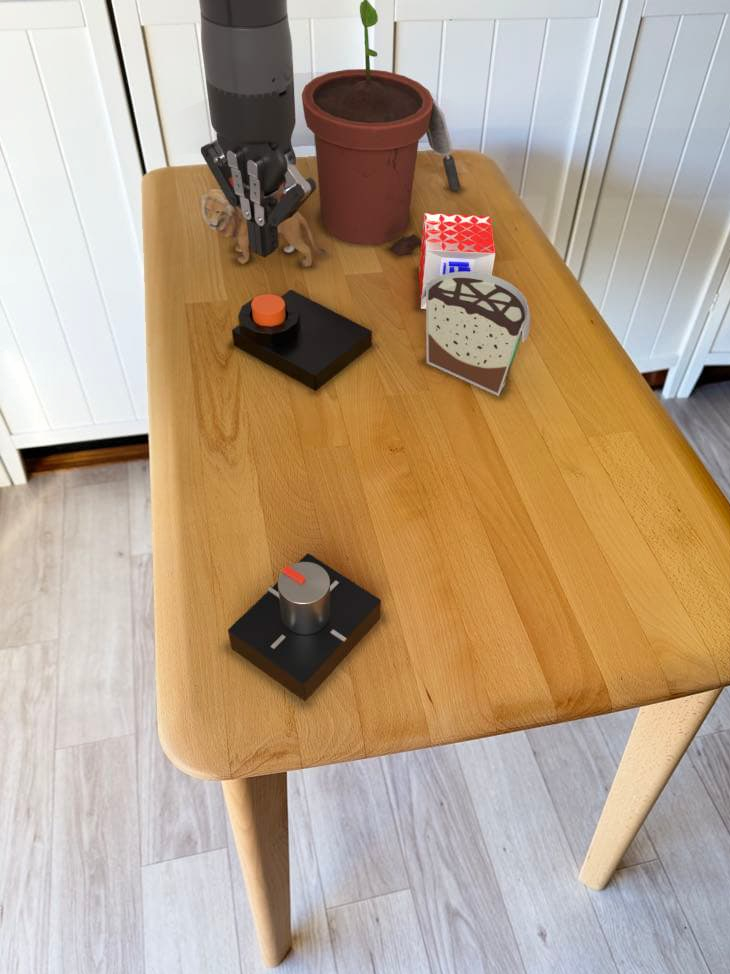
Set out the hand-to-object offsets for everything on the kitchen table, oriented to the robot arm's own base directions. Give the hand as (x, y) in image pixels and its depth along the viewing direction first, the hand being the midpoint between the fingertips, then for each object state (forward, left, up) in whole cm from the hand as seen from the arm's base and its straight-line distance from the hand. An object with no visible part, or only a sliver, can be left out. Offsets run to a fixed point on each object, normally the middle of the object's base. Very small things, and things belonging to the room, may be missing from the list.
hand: (264, 251), depth 83 cm
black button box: (+2, -3, -12) cm, 12 cm away
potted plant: (+30, +6, -12) cm, 33 cm away
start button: (0, 0, -8) cm, 8 cm away
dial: (-27, -28, -9) cm, 40 cm away
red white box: (+22, -10, -12) cm, 27 cm away
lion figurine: (+12, +12, -12) cm, 21 cm away
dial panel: (-27, -28, -12) cm, 41 cm away
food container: (+12, -20, -12) cm, 26 cm away
